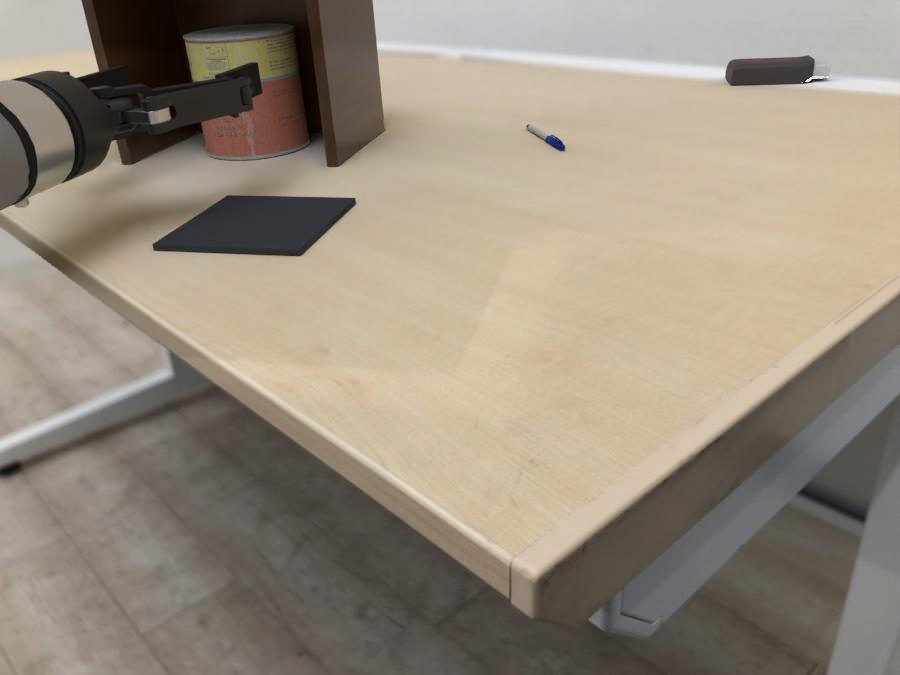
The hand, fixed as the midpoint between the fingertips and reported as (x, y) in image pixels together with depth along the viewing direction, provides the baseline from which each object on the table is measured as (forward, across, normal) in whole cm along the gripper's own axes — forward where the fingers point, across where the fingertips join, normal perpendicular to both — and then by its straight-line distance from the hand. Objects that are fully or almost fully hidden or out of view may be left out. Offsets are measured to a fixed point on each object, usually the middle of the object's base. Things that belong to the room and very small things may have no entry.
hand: (189, 79), depth 74 cm
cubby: (+11, 0, -9) cm, 14 cm away
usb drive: (+46, +57, -9) cm, 74 cm away
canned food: (+11, 0, -9) cm, 15 cm away
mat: (-13, +12, -9) cm, 20 cm away
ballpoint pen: (+15, +31, -10) cm, 36 cm away
